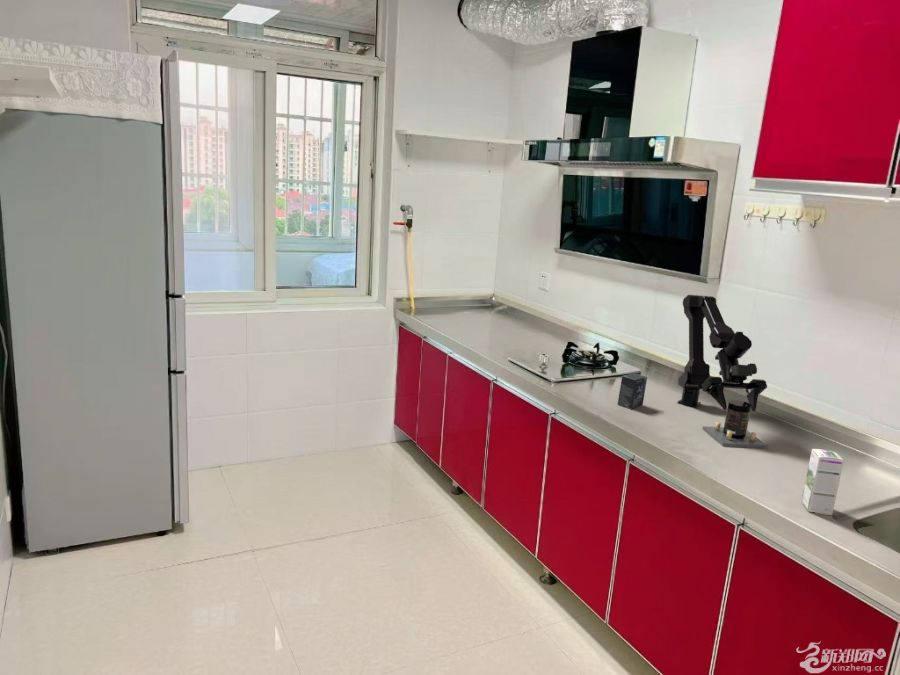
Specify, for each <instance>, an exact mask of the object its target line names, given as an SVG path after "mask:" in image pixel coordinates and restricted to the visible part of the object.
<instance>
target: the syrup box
mask: <svg viewBox="0 0 900 675" xmlns="http://www.w3.org/2000/svg"><path fill="white" fill-rule="evenodd" d="M809 457H810V458H809V463H808V468H807V472H806V478H805V482H804V486H803V490H802V492H803V493H802V495H801V496H802V497H801V504H802V503H803V504H802V505H803V506H804V508H805V509H806V511H807V512H808V511H809V513H812V512H815V513H814V514H818V513H820V514H819V515H826V516H833V512H834V509H835V504H836V500H837V494H838V489H839V486H840V480H841V476H842V470H843V466H844V462H845V461H844V459H843V458H842V456H840V455H839V454H838V453H837V452H836V451H834V450H829V449H821V448H811V452H810V456H809Z"/></svg>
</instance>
